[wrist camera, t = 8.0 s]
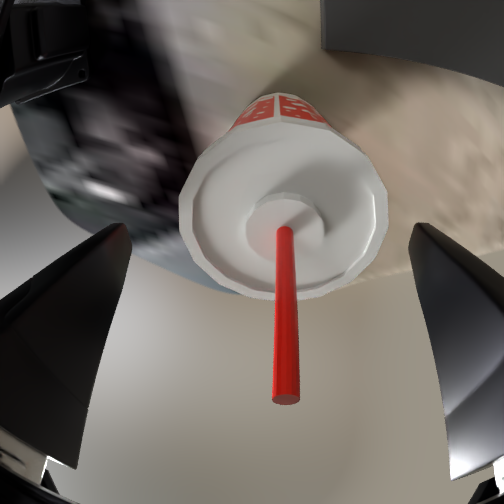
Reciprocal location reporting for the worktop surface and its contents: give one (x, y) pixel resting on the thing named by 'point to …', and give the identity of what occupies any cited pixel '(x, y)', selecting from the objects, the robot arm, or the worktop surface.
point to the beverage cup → (283, 215)
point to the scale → (421, 32)
